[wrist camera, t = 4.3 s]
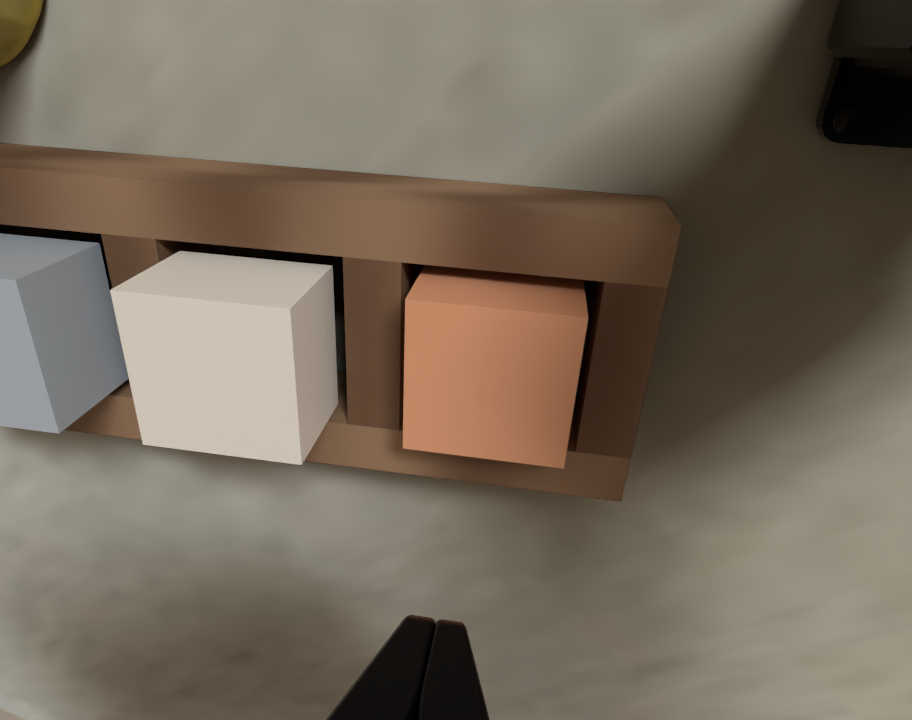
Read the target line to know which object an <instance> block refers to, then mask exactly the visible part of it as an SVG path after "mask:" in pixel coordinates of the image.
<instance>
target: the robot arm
mask: <svg viewBox="0 0 912 720" xmlns="http://www.w3.org/2000/svg"><path fill="white" fill-rule="evenodd" d="M827 46H828V48H829V50H830V52H831V53H832V55H833V56H834V57H835V58H834V61H833V64H832V68H831V71H830V74H829V78H828V81H827V85H826V88H825V91H824V95H823V98H822V101H821V105H820V108H819V112H818V115H817V119H816V128H817V131H818V134H819V135H820V136H821V137H823V138H824V139H826V140H829V141H832V142H836V143H844V144H858V145H872V146H886V147H900V148H912V0H840V1H839V4H838V8H837V11H836V15H835V18H834V22H833V25H832V28H831V32H830V35H829V39H828V43H827ZM843 110H847V111H848V113H849V121H848V123H847V125H846V126H845V127H843V128H842V129H840V130H835V129H834V127H833V120H834V118H835V117H836V115H837V114H838V113H840V112H841V111H843ZM326 720H490V719H489V716H488V712H487V708H486V704H485V700H484V696H483V692H482V688H481V684H480V680H479V676H478V672H477V669H476V665H475V661H474V657H473V653H472V649H471V645H470V641H469V637H468V633H467V629H466V627H465V625H464V624H463V623H461V622H456V621H449V620H442V619H441V620H438V621H437V622H436V624H435V621H434V620H433V619H432V618H428V617H422V616H415V615H409V616H407V617H406V618H405V619H404V620H403V621H402V622H401V623H400V625H399V626H398V627H397V629H396V630H395V631H394V633H393V634H392V635H391V636H390V638H389V639H388V640H387V642H386V643H385V644H384V645H383V647H382V648H381V649H380V651H379V652H378V653H377V655H376V656H375V657H374V658H373V660H372V661H371V662H370V664H369V665H368V666H367V667H366V669H365V670H364V671H363V673H362V674H361V675H360V677H359V678H358V679H357V680H356V682H355V683H354V684H353V686H352V687H351V688H350V689H349V691H348V692H347V693H346V695H345V696H344V697H343V699H342V700H341V701H340V702H339V704H338V705H337V706H336V708H335V709H334V710H333V711H332V713H331V714H330V715H329V717H328V718H327V719H326Z"/></svg>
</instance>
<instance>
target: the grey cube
mask: <svg viewBox="0 0 912 720" xmlns="http://www.w3.org/2000/svg"><path fill="white" fill-rule="evenodd" d="M126 380H128V374H127V369H126V365H125V360H124V355H123V351H122V346H121V341H120V337H119V332H118V327H117V322H116V318H115V313H114V308H113V304H112V299H111V294H110V290H109V285H108V280H107V276H106V271H105V266H104V262H103V257H102V252H101V248H100V243H95V242H84V241H74V240H64V239H53V238H43V237H33V236H22V235H12V234H2V233H0V426H4V427H11V428H19V429H27V430H35V431H42V432H50V433H58V434H59V433H61V432H62V431H63V430H65V429H66V428H67V427H68V426H70V425H71V424H72V423H73V422H75V421H76V420H77V419H78V418H80V417H81V416H82V415H83V414H85V413H86V412H87V411H88V410H90V409H91V408H92V407H94V406H95V405H96V404H97V403H99V402H100V401H101V400H102V399H104V398H105V397H106V396H107V395H109V394H110V393H111V392H112V391H114V390H115V389H116V388H117V387H119V386H120V385H121V384H122V383H124V382H125V381H126Z"/></svg>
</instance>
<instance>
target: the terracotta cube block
mask: <svg viewBox="0 0 912 720" xmlns="http://www.w3.org/2000/svg"><path fill="white" fill-rule="evenodd" d="M587 323H588V311H587V303H586V296H585V288H584V280H580V279H569V278H559V277H548V276H538V275H527V274H517V273H506V272H496V271H486V270H475V269H465V268H454V267H444V266H433V265H425V266H424V267H423V269H422V271H421V273H420V274H419V276H418V278H417V280H416V281H415V283H414V285H413V287H412V288H411V290H410V292H409V293H408V295H407V297H406V299H405V343H404V403H403V449H411V450H419V451H427V452H435V453H443V454H451V455H459V456H467V457H475V458H483V459H491V460H499V461H507V462H515V463H523V464H531V465H539V466H547V467H555V468H563V469H564V465H565V459H566V453H567V446H568V440H569V434H570V428H571V422H572V416H573V409H574V403H575V397H576V391H577V385H578V379H579V372H580V366H581V360H582V354H583V348H584V342H585V336H586V329H587Z"/></svg>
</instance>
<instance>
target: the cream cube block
mask: <svg viewBox="0 0 912 720" xmlns="http://www.w3.org/2000/svg"><path fill="white" fill-rule="evenodd" d="M110 293H111V298H112V302H113V307H114V312H115V316H116V321H117V326H118V330H119V335H120V340H121V344H122V349H123V354H124V359H125V363H126V368H127V373H128V377H129V382H130V387H131V391H132V396H133V401H134V405H135V410H136V415H137V419H138V424H139V429H140V434H141V438H142V443H143V445H150V446H158V447H166V448H174V449H181V450H189V451H197V452H204V453H212V454H220V455H228V456H235V457H243V458H251V459H259V460H266V461H274V462H282V463H289V464H297V465H302V464H303V462H304V460H305V459H306V457H307V455H308V454H309V452H310V450H311V449H312V447H313V445H314V444H315V442H316V440H317V438H318V437H319V435H320V433H321V432H322V430H323V428H324V427H325V425H326V423H327V422H328V420H329V418H330V417H331V415H332V413H333V412H334V410H335V408H336V406H337V405H338V387H337V361H336V336H335V310H334V285H333V266H332V265H321V264H311V263H301V262H291V261H280V260H270V259H260V258H249V257H239V256H229V255H218V254H208V253H198V252H187V251H179V252H177V253H175V254H173V255H172V256H170V257H168V258H166V259H164V260H163V261H161V262H159V263H157V264H156V265H154V266H152V267H150V268H148V269H147V270H145V271H143V272H141V273H139V274H138V275H136V276H134V277H132V278H131V279H129V280H127V281H125V282H123V283H122V284H120V285H118V286H116V287H114V288H113V289H111V290H110Z"/></svg>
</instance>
